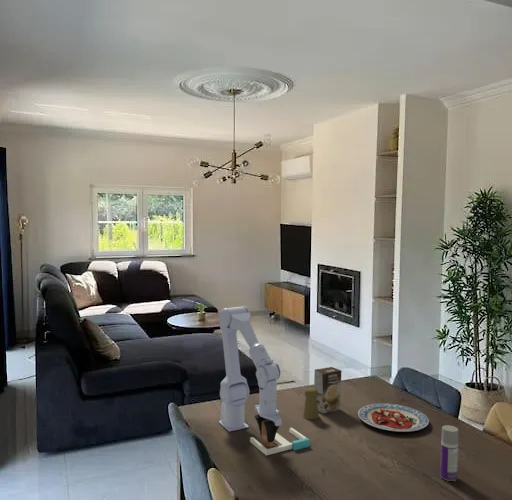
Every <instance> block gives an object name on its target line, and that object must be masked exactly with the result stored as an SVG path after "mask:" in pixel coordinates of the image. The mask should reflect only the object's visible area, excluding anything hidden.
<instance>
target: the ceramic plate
mask: <svg viewBox="0 0 512 500" xmlns="http://www.w3.org/2000/svg"><path fill="white" fill-rule="evenodd" d="M357 414H358V415H357V416H358V417H359V419H360V420H361V421H362V422H364V424H367V425H369V426H371V427H374V428H377V429H380V430H383V431H391V432H397V433H398V432H399V433H400V432H401V433H402V432H403V433H406V432H415V431H420V430H423V429H424V428H427V426H428V425H429V423H430V421H429V420H430V419H429V418H428V417H427V415H426V414H425V413H424V412H422V411H420V410H418V409H416V408H413V407H409V406H405V405H401V404H398V403H397V404H396V403H381V402H380V403H371V404H367V405H364V406H363V407H361V408H360V409H359V410H358V412H357ZM407 416H408V418H407Z"/></svg>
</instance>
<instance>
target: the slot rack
mask: <svg viewBox="0 0 512 500" xmlns="http://www.w3.org/2000/svg"><path fill="white" fill-rule="evenodd" d="M288 429H289V430H288V431H289V433H290V434H291V435H292V436H294V437H295V438H297V439H296V440H292V441H291V442H290V441H288V440H287V439H286V438H284V437H283V436H282V435H281V434H279V433H278V432H276V436H275V439H274V442H273V444H276V446H275V447H274V446H273V447H271V448H265V447H264V446H263V445H262V442H260V441H258V440H257V439H256V438H255V437H253V436H251V437H249V443H251V444H252V445H253V446H254V447H255V448H257V449H258V450H259V451H260V452H261V453H263V455H265V456H269V455H274V454H278V453H281V452H284V451H288V450H293V451H298V450H302V449H305V448H310V445H311V444H310V438H309V437H306V436H305V435H303V434H302V433H300V432H299V431H297V430H296V429H295V428H293V427H289V428H288Z"/></svg>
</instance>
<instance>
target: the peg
mask: <svg viewBox="0 0 512 500" xmlns="http://www.w3.org/2000/svg"><path fill="white" fill-rule="evenodd" d="M267 421H269V420H263V421H262V437H261V444H262V445H263V446H264V447H265V448H267V449H269V448H273V447H274V442H270V443H269V442H268V440H267V432H266V428H265V425H264V422H267Z"/></svg>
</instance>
